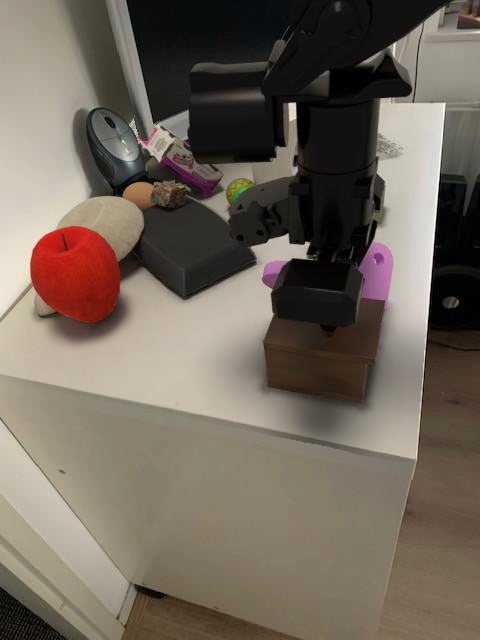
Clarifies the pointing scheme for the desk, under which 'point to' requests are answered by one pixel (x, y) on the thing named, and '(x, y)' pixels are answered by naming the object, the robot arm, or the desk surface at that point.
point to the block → (379, 215)
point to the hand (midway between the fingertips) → (333, 312)
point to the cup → (279, 156)
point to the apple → (76, 273)
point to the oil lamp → (103, 227)
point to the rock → (169, 194)
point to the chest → (316, 375)
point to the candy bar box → (179, 159)
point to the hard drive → (189, 245)
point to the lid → (331, 336)
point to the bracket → (372, 272)
